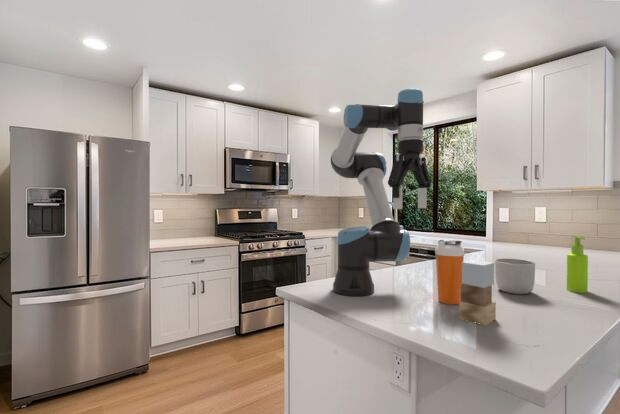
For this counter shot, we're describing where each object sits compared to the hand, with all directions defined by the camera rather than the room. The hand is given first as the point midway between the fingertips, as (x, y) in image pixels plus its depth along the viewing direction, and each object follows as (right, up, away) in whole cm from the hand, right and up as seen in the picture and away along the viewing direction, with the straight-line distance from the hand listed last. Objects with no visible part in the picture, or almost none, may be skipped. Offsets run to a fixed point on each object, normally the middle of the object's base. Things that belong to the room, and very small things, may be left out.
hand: (410, 208), depth 104 cm
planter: (+43, -30, +16) cm, 55 cm away
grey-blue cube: (+15, -21, -11) cm, 28 cm away
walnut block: (+15, -26, -11) cm, 32 cm away
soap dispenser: (+65, -30, +16) cm, 74 cm away
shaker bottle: (+14, -31, +5) cm, 34 cm away
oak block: (+15, -31, -11) cm, 36 cm away
